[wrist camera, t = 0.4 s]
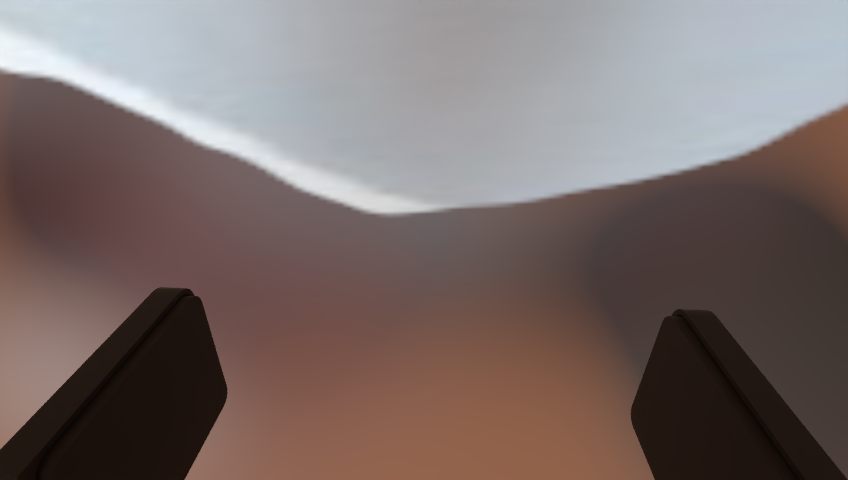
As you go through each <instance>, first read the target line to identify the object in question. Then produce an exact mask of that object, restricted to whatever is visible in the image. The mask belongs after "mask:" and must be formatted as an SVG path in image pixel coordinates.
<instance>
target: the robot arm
mask: <svg viewBox="0 0 848 480" xmlns="http://www.w3.org/2000/svg"><path fill="white" fill-rule="evenodd" d="M226 398H227V386H226V382H225V379H224V375H223V372H222V369H221V365H220V362H219V358H218V355H217V352H216V348H215V345H214V341H213V338H212V334H211V331H210V328H209V324H208V321H207V318H206V314H205V310H204V307H203V304H202V301H201V299H200V298H199V297H197V296H194V294H193V292H192V291H191V290H190V289H186V288H185V289H184V288H162V287H161V288H157V289H156V290H154V291H153V292H152V293H151V294H150V295H149V296H148V297H147V298H146V299H145V300H144V301H143V302H142V304H140V305H139V307H138V308H137V309H136V310H135V311H134V312H133V313H132V314H131V315H130V316H129V317H128V318H127V319H126V320H125V321H124V322H123V323H122V324H121V325H120V326H119V327H118V328H117V329H116V330H115V331H114V332H113V333H112V335H111V336H110V337H109V338H108V339H107V340H106V341H105V342H104V343H103V344H102V345H101V346H100V347H99V348H98V349H97V350H96V351H95V352H94V353H93V354H92V355H91V356H90V357H89V358H88V359H87V360H86V361H85V363H83V365H82V366H81V367H80V368H79V369H78V370H77V371H76V372H75V373H74V374H73V375H72V376H71V377H70V378H69V379H68V380H67V381H66V382H65V383H64V384H63V385H62V386H61V387H60V388H59V389H58V390H57V391H56V393H55V394H54V395H53V396H52V397H51V398H50V399H49V400H48V401H47V402H46V403H45V404H44V405H43V406H42V407H41V408H40V409H39V410H38V411H37V412H36V413H35V414H34V415H33V416H32V417H31V418H30V420H28V421H27V422H26V424H25V425H24V426H23V427H22V428H21V429H20V430H19V431H18V432H17V433H16V434H15V435H14V436H13V437H12V438H11V439H10V440H9V441H8V442H7V443H6V444H5V445H4V446H3V448H1V449H0V480H184V479H185V478H186V476H187V474H188V472H189V470H190V468H191V466H192V464H193V463H194V461H195V459H196V457H197V455H198V453H199V452H200V450H201V448H202V446H203V444H204V442H205V440H206V438H207V436H208V435H209V433H210V431H211V429H212V427H213V425H214V423H215V422H216V420H217V418H218V416H219V414H220V412H221V410H222V408H223V407H224V404H225V402H226ZM631 420H632V425H633V428H634V430H635V432H636V435H637V437H638V440H639V442H640V445H641V447H642V449H643V452H644V454H645V457H646V459H647V462H648V464H649V466H650V469H651V471H652V474H653V476H654V478H655V480H847V478H846V477H845V476H844V475H843V474H842V472H841V471H840V470H839V469H838V467H837V466H836V465H835V464H834V462H833V461H832V460H831V459H830V457H829V456H828V455H827V454H826V452H825V451H824V450H823V449H822V447H821V446H820V445H819V444H818V442H817V441H816V440H815V439H814V438H813V436H812V435H811V434H810V432H809V431H808V430H807V429H806V427H805V426H804V425H803V424H802V423H801V421H800V420H799V419H798V418H797V416H796V415H795V414H794V413H793V411H792V410H791V409H790V408H789V406H788V405H787V404H786V403H785V402H784V400H783V399H782V398H781V396H780V395H779V394H778V393H777V391H776V390H775V389H774V388H773V386H772V385H771V384H770V383H769V381H768V380H767V379H766V378H765V376H764V375H763V374H762V373H761V372H760V370H759V369H758V368H757V366H756V365H755V364H754V363H753V362H752V360H751V359H750V358H749V357H748V355H747V354H746V353H745V352H744V351H743V349H742V348H741V347H740V345H739V344H738V343H737V342H736V340H735V339H734V338H733V337H732V335H731V334H730V333H729V332H728V330H727V329H726V328H725V327H724V326H723V324H722V323H721V322H720V320H719V319H718V318H717V317H716V316H715V315H714V314H713V313H712V312H711V311H708V310H686V309H685V310H684V309H678V310H676V311H674V313H673V314H672V316H668V317H666V318H664V320H663V322H662V325H661V327H660V330H659V333H658V336H657V338H656V341H655V344H654V347H653V349H652V352H651V355H650V358H649V361H648V364H647V366H646V369H645V372H644V374H643V377H642V380H641V383H640V385H639V389H638V391H637V394H636V396H635V399H634V402H633V405H632V408H631Z"/></svg>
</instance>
